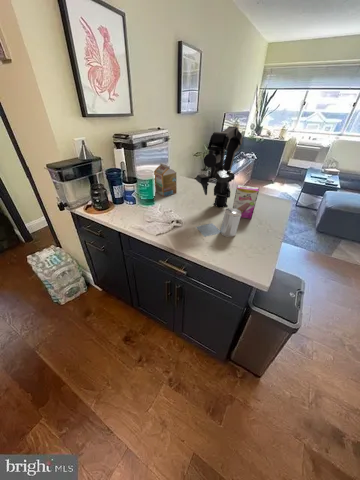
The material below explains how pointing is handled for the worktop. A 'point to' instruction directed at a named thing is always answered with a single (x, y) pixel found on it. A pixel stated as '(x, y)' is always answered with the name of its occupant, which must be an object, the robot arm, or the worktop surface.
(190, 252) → the worktop surface
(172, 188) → the milk carton
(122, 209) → the worktop surface
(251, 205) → the candy bar box
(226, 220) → the white can
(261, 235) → the worktop surface
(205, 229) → the slate mat
